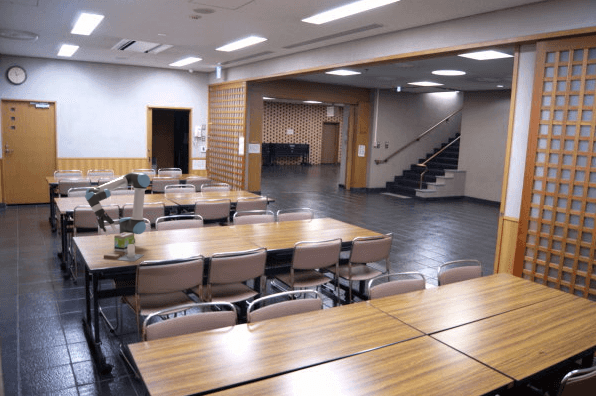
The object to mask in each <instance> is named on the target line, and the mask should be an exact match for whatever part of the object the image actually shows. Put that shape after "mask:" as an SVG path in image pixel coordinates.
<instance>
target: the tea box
mask: <svg viewBox="0 0 596 396" xmlns="http://www.w3.org/2000/svg"><path fill="white" fill-rule="evenodd" d="M134 238H135V234H134V233H127V232H124V233H121V234H120V233H118V234H115V235H114V239H113V240H114V242H113V244H114V245H113V246H114V247H113V251H123V252H125V254H127V246H128V244H135V243H134Z"/></svg>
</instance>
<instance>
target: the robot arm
mask: <svg viewBox="0 0 596 396" xmlns="http://www.w3.org/2000/svg"><path fill="white" fill-rule="evenodd" d="M150 184H151V178H150V176H149V175H148V174H146V173H143V172H133V171H132V172H129V173H126V174H123V175H121V176H120V177H118V178H117V179H114V180H111V181H109V182H106V183H104V184H101V185H98V186H96V187H91V188H89V187H88V188H87V189H86V191H85V195H84V197H85V200H86V202H87V203H88V205H89V206H90V208H91V211H93V212H94V215H95V216H96V220H97V222H98V227H99V229H101V230H102V231H103V232H104V234H105V236H109V235H110V232H109V231H108V228H106V225H105V221H106V222H107V223H108V224H109V226H110V228H111V229H112V231H113V232H117V231H118V229H117V227H116V226H115V220H113V219H112V218H111V216H109V214H108V213H106V211H105V209H104V207H103V205H102V204H101V203H100V202H101V201H104V200H106V199H108V198H110V197H111V191H114V190H116V189H120V188H122V187H123V186H124V187H127V186H132V188H133V190H134V192H133V193H134V194H133V206H132V214H131V215H132V216H128V217H125V216H124V217H122V218H120V219H119V234H121V233H124V232H127V233H134V235H141V234H143V233H144V232H145V231H146V229H147V224H146V222H145V218H144V217H143V215H144V214H143V213H144V204H145V193H146V192H145V191H146V190H147V189H148V187H149V186H150ZM135 243H136V238H135V237H134V244H135Z"/></svg>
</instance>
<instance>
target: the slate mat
mask: <svg viewBox="0 0 596 396" xmlns="http://www.w3.org/2000/svg"><path fill="white" fill-rule="evenodd" d="M144 256H145V254H143V253H142V254H141V253H140V254H139V253H135V257H133V258H128V257H127V253H125V255H123V256H122V257H120V258H118V259H116V260H117V261H124V262H136V261H137V260H139V259H140V258H142V257H144Z"/></svg>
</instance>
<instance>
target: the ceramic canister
mask: <svg viewBox="0 0 596 396" xmlns="http://www.w3.org/2000/svg"><path fill="white" fill-rule="evenodd" d="M135 247H136V244H135V243H134V244H128V246H127V252H126V254H127V257H128V258H133V257H135V254H136V248H135Z"/></svg>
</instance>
